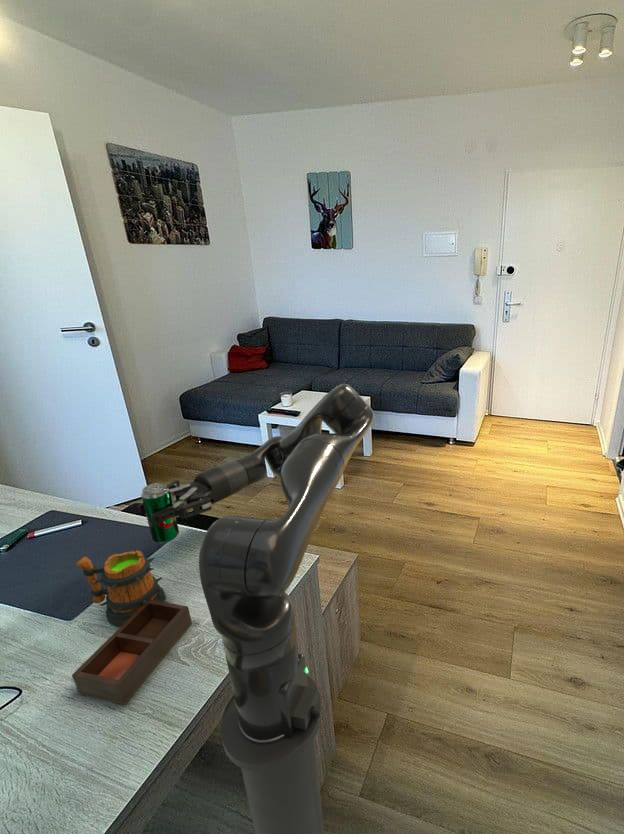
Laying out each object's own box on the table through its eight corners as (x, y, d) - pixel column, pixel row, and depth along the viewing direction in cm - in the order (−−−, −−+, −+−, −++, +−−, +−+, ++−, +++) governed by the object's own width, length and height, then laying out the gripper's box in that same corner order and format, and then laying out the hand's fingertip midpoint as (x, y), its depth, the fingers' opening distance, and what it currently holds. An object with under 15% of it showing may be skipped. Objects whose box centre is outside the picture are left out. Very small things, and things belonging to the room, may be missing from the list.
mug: (176, 585, 86) (164, 537, 81) (152, 627, 76) (137, 575, 72) (108, 588, 85) (92, 540, 81) (75, 630, 76) (55, 578, 71)
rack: (192, 623, 78) (188, 606, 76) (125, 704, 64) (118, 685, 62) (153, 616, 79) (148, 599, 78) (79, 694, 65) (71, 675, 64)
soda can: (155, 532, 93) (143, 483, 88) (181, 528, 95) (170, 480, 90) (150, 546, 89) (137, 496, 84) (177, 541, 90) (166, 492, 86)
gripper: (243, 505, 97) (167, 543, 84) (207, 486, 105) (133, 518, 92) (238, 476, 94) (159, 511, 82) (202, 458, 102) (125, 487, 89)
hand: (146, 514), depth 87 cm, fingers closed on soda can, 5 cm apart
